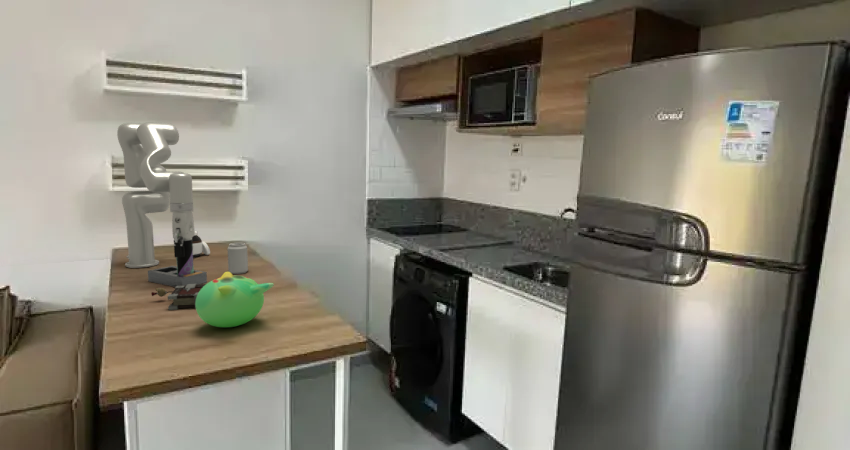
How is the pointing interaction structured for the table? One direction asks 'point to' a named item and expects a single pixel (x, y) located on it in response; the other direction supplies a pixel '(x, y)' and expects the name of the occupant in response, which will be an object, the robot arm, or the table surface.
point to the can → (237, 258)
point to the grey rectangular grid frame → (176, 277)
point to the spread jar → (199, 246)
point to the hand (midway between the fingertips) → (184, 253)
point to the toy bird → (230, 300)
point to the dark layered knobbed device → (181, 295)
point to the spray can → (186, 259)
